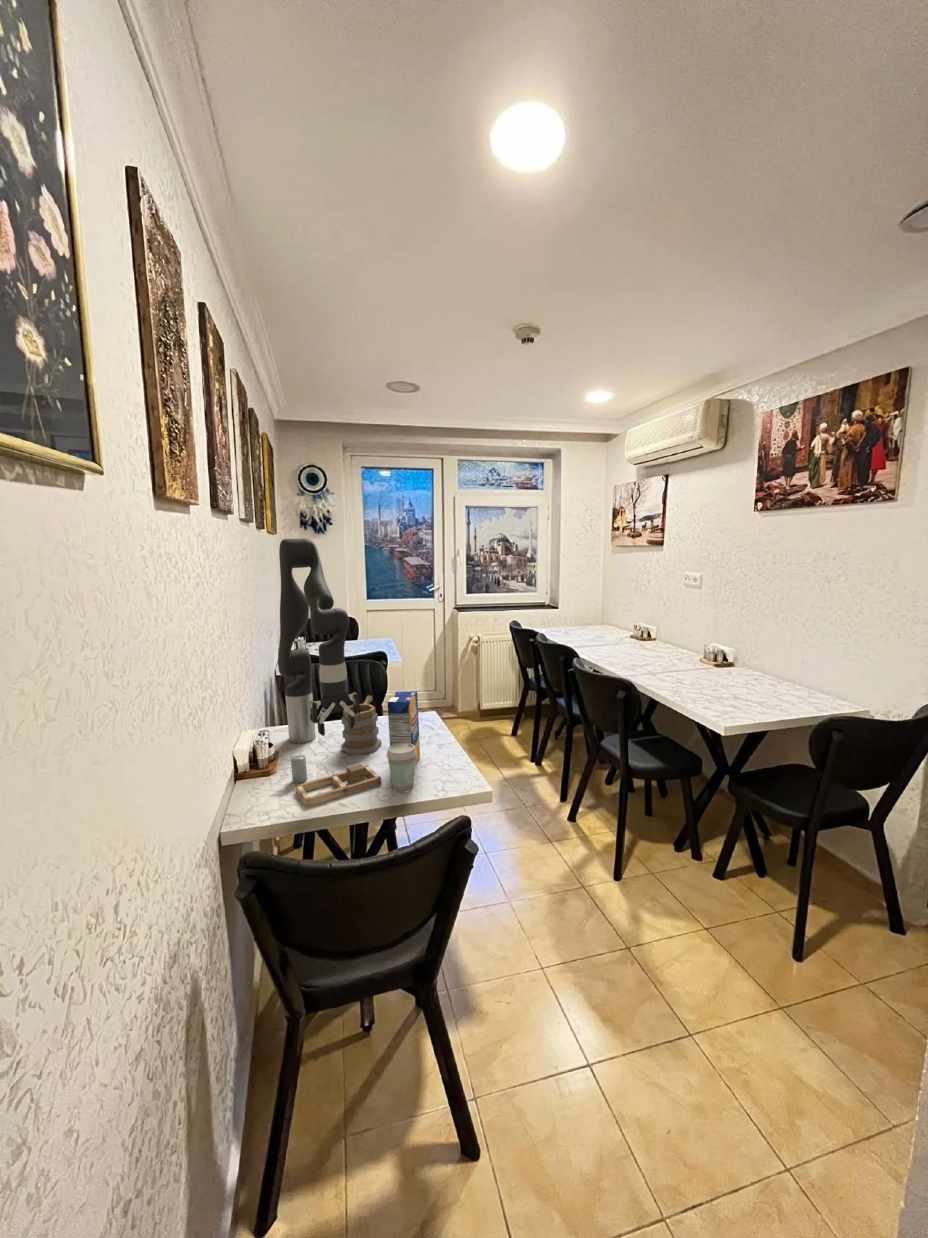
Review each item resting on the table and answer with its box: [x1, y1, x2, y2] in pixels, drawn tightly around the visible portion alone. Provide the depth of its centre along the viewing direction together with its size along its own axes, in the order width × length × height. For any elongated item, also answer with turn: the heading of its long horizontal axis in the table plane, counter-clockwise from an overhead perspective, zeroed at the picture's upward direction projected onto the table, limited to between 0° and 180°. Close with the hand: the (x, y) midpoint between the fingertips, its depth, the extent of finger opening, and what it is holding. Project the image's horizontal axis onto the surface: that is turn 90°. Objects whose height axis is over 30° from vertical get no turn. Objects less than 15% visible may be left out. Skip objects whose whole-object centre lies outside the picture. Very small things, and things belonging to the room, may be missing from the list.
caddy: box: [295, 765, 382, 808], centre depth 142 cm, size 10×22×2 cm, turn 124°
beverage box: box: [387, 691, 421, 767], centre depth 155 cm, size 7×11×22 cm, turn 173°
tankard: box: [340, 695, 382, 756], centre depth 174 cm, size 20×13×15 cm, turn 171°
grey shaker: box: [290, 754, 308, 784], centre depth 147 cm, size 4×4×7 cm
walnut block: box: [346, 762, 366, 785], centre depth 144 cm, size 4×4×5 cm
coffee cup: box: [386, 743, 417, 793], centre depth 140 cm, size 8×8×12 cm
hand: (336, 731), depth 144 cm, fingers open, 8 cm apart
